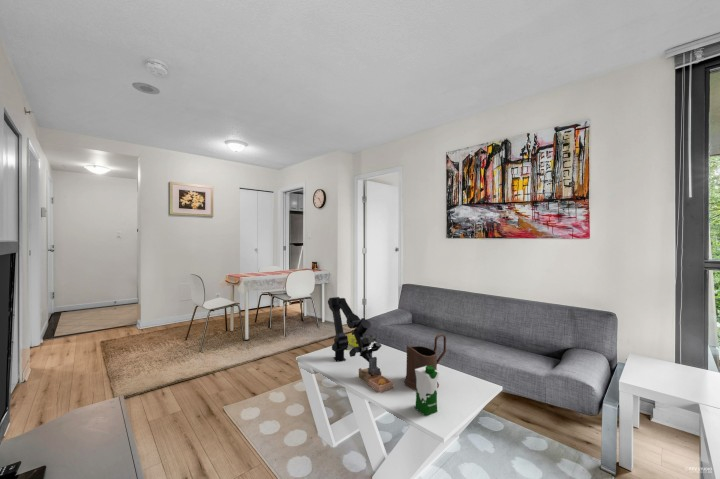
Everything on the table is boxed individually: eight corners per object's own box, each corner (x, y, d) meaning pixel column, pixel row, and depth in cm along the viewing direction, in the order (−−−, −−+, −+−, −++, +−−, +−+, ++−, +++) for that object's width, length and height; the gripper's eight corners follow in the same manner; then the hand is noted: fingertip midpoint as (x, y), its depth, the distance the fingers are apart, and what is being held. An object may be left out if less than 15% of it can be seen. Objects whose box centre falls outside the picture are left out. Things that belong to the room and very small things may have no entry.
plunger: (368, 373, 169) (368, 358, 169) (375, 371, 171) (375, 356, 171) (372, 376, 165) (372, 360, 165) (380, 374, 168) (380, 359, 168)
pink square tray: (368, 385, 165) (368, 379, 165) (382, 380, 170) (382, 375, 170) (379, 392, 157) (379, 386, 157) (393, 387, 162) (393, 382, 162)
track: (358, 377, 173) (358, 368, 173) (370, 374, 178) (370, 365, 178) (369, 384, 165) (369, 375, 165) (381, 381, 170) (381, 371, 170)
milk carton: (426, 417, 135) (426, 371, 135) (411, 408, 143) (412, 364, 143) (440, 412, 140) (441, 367, 140) (426, 402, 148) (426, 360, 148)
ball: (380, 389, 162) (376, 382, 164) (386, 386, 163) (382, 379, 166) (381, 385, 159) (377, 378, 162) (387, 382, 161) (384, 375, 164)
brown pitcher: (397, 378, 173) (398, 333, 173) (435, 372, 182) (435, 329, 182) (414, 394, 156) (415, 343, 156) (455, 386, 164) (456, 339, 164)
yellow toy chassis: (347, 344, 228) (347, 332, 228) (354, 343, 231) (354, 331, 231) (358, 351, 214) (358, 339, 214) (365, 350, 217) (365, 337, 217)
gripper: (352, 332, 169) (363, 360, 160) (379, 327, 180) (391, 353, 171) (344, 343, 176) (354, 370, 167) (371, 337, 186) (382, 362, 177)
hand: (371, 363), depth 170 cm, fingers closed
